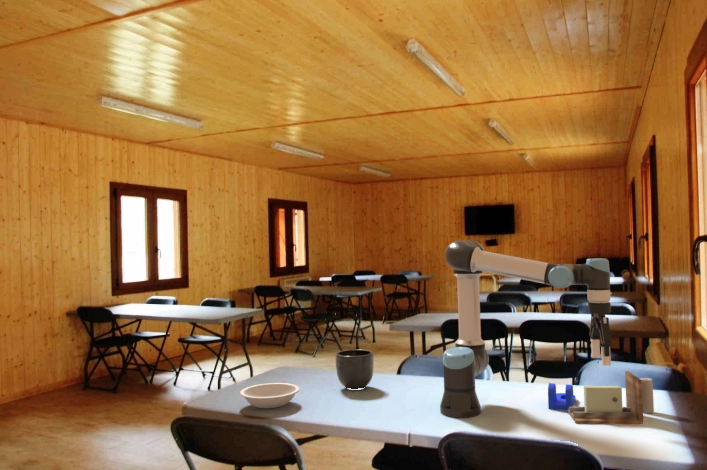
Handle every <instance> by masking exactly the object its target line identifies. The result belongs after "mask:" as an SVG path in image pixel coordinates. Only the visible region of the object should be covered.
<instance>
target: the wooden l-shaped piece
mask: <svg viewBox="0 0 707 470" xmlns="http://www.w3.org/2000/svg"><path fill="white" fill-rule="evenodd" d="M624 377H625V400H626V401H625V402H626V403H625V404H626V405H625V406H622V410H623V412H585V406H574V407H569V409H567V411H566V412H567V413H568V415H569V417H571V419H572V420H573V421H574V423H575V424H589V425H590V424H595V425H597V424H599V425H601V424H603V425H605V424H606V425H644V413H643V401H642V380H641V379H639V378H640V377H638V376H636V375H635V374H633V373H632V372H630V371H629V370H624Z"/></svg>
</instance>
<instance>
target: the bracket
mask: <svg viewBox="0 0 707 470" xmlns="http://www.w3.org/2000/svg"><path fill="white" fill-rule="evenodd" d="M576 400H577V399H576V395H575V394H574V386H573V384H565V391H564V392H558V393H557V384H556V383H551V382H549V383H548V387H547V401H548V403H547V404H548V407H547V408H548V410H557V411H565V412H567V409H569V407H575V405H576Z"/></svg>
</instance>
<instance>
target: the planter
mask: <svg viewBox="0 0 707 470" xmlns="http://www.w3.org/2000/svg"><path fill="white" fill-rule="evenodd" d="M334 355H335V370H336V375H337V378H338V381H339V382H340V385H342V386H343V387H344V388H345V387H346V388H351V389H358V388H364V387H366V388H367V386H368V385H369V384H370V382H371V381H372V379H373V376H374V367H375V366H374V365H375V360H374V359H375V355H374V352H373V351H372V350H369V349H359V348H358V349H343V350H340V351H337V352H335V354H334ZM346 388H345V389H346Z"/></svg>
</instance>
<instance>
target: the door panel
mask: <svg viewBox="0 0 707 470" xmlns="http://www.w3.org/2000/svg"><path fill="white" fill-rule="evenodd" d="M583 397H584V399H583V400H584V401H583V402H584V403H583V404H584V407H585V412H623V410H622V407H623V389H622V387H621V386H620V385H583Z"/></svg>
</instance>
